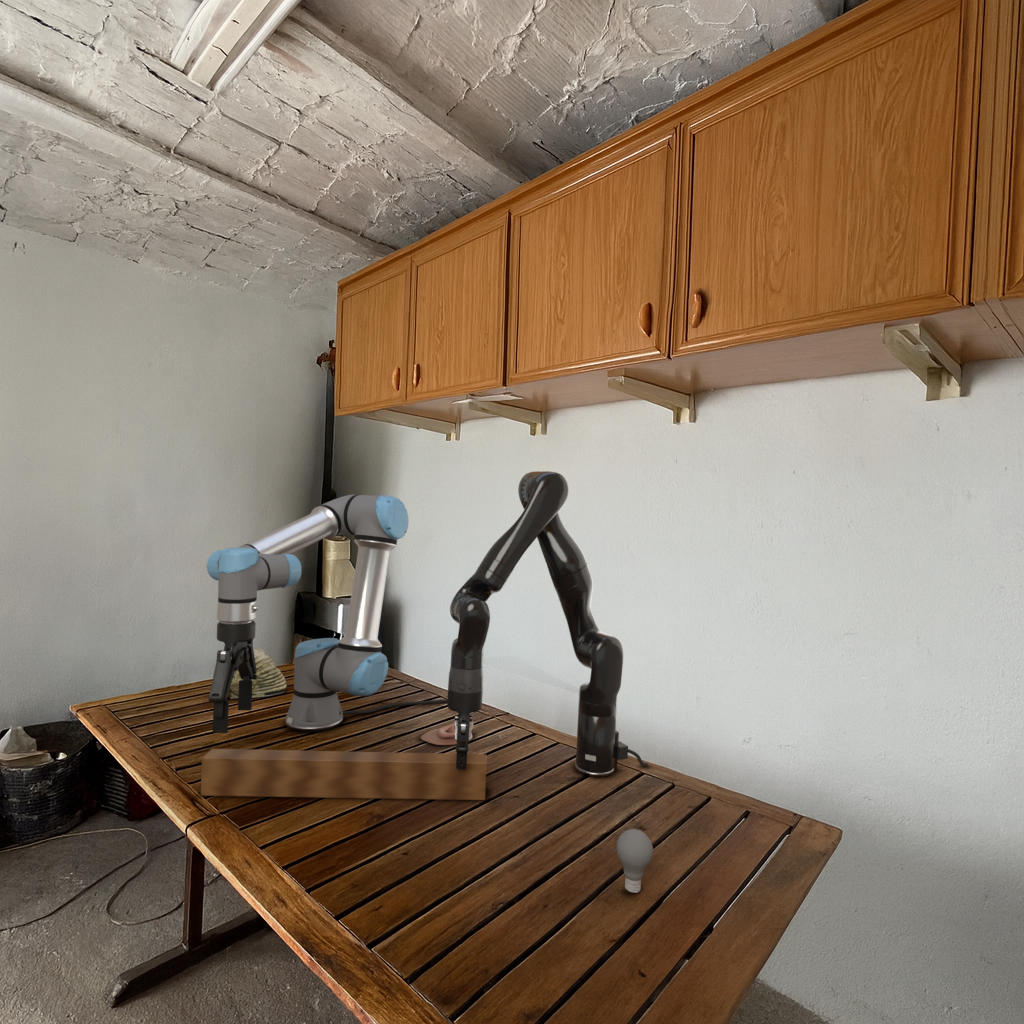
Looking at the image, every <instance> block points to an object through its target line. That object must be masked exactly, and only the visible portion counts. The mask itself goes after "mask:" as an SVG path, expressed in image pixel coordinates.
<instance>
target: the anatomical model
mask: <svg viewBox="0 0 1024 1024" xmlns="http://www.w3.org/2000/svg"><path fill="white" fill-rule="evenodd" d="M473 729H474V725H473V726H472V728H471V740H473V733H472V731H473ZM420 739H421V740H422V741H424V742H427V743H429V744H432V745H437V746H451V745H453V746H454V745H457V741H455V727H454V722H452V723H450V724H448V725H444V726H442V727H439V728H435V729H431V730H429V731H427V732H424V734H422V735H421V736H420Z"/></svg>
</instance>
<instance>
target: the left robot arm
mask: <svg viewBox="0 0 1024 1024" xmlns="http://www.w3.org/2000/svg"><path fill="white" fill-rule="evenodd" d="M409 521H410V520H409V513H408V510H407V508H406V506H405V504H404V502H403V501H402V500H401V499H400V498H398V497H395V496H391V495H384V494H347V495H344V496H340V497H337V498H334V499H332V500H330V501H327V502H324V503H322V504H320V505H318V506H316V507H314V508H313V509H312V510H311V512H310V514H307V515H305V516H303V517H301V518H298V519H297V520H295V521H292V522H290V523H288V524H286V525H284V526H282V527H279V528H277V529H275V530H273V531H271V532H269V533H266V534H265V535H262V536H259V537H257V538H255V539H254V540H251V541H249V542H247V543H245V544H242V545H240V546H238V547H226V548H224V549H217V550H215V551H213V552H212V553H211V554H210V556H209V557H208V559H207V562H206V570H207V574H208V576H209V577H210V578H212V579H213V580H215V581H218V583H217V584H218V585H217V586H218V589H217V591H218V594H217V610H216V611H217V612H216V619H217V621H219V622H218V623H217V624H216V640H217V641H218V642H221V643H224V647H223V650H221V649H219V650H217V652H216V660H215V661H216V662H215V666H214V671H213V676H212V681H211V685H210V691H209V693H208V694H209V695H208V698H207V700H208V702H213V709H212V710H213V711H212V734H227V733H228V732H229V710H230V709H229V708H230V700H229V699H228V696H229V694H230V692H229V690H230V686H231V683H232V680H233V676H234V673H235V671H236V670H238V672H239V674H240V677H241V679H243V680H240V681H239V695H238V698H237V711H252V707H253V706H252V705H253V697H252V683H253V681H252V680H256V679H257V675H254V674H256V673H257V670H256V664H255V657H254V651H253V649H254V639H255V638H256V627H257V626H256V625H257V624H256V622H255V619H256V618H257V617H256V616H257V615H256V614H257V611H258V610H259V606H258V605H257V599H258V597H257V596H258V591H264V590H271V589H272V590H273V589H280V588H282V589H284V588H287V587H291V586H294V585H295V584H297V583H298V582H299V581H300V579H301V576H302V563H301V561H300V560H299V558H298V557H297V556H295V554H296V553H298V552H300V551H302V550H304V549H306V548H308V547H310V546H311V545H312V546H313V544H315V543H317V542H320V541H321V540H323V539H324V540H331V539H334V538H336V537H339V536H354V538H353V541H354V543H355V544H356V546H357V547H358V548H357V555H356V563H355V568H354V574H353V575H354V576H353V577H354V578H353V581H352V582H353V583H352V589H351V596H350V600H349V601H350V603H349V609H348V615H347V621H346V628H345V635H344V636H342V638H340V639H338V638H335V637H322V638H313V639H308V640H304V641H302V642H299V643H298V644H297V645H296V647H295V652H294V653H295V654H294V657H293V659H294V660H293V662H294V663H293V665H294V666H293V695H292V696H293V697H292V699H291V702H290V704H289V708H288V711H287V713H286V715H285V726H286V728H287V729H289V730H291V731H294V732H295V731H296V732H301V733H316V732H325V731H329V730H332V729H335V728H337V727H339V726H340V725H342V723H343V722H344V715H366V714H372V713H375V712H378V711H381V710H384V709H389V708H390V709H391V708H396V707H404V706H416V705H429V704H441V703H447V699H448V698H443V699H433V700H432V699H431V700H417V701H416V700H415V701H406V702H396V703H395V702H394V703H390V704H385V705H382V706H378V707H375V708H371V709H367V710H366V709H365V710H343V709H342V706H341V702H340V699H339V695H338V692H341V693H345V694H349V695H352V696H355V697H356V696H359V697H360V696H361V697H370V696H372V695H374V694H375V693H376V692H377V691H379V690H380V688H381V687H382V686H383V684H384V682H385V681H386V679H387V676H388V671H389V662H388V658H387V656H386V655H385V654H384V653H382V648H383V644H382V643H381V642H380V640H379V638H378V637H379V631H380V623H381V616H382V609H383V603H384V597H385V596H384V595H385V589H386V583H387V575H388V569H389V562H390V554H391V551H393V550H394V549H395V548H397V544H398V540H400V539H402V538H403V537H404V536H405V535H406V533H407V531H408V529H409Z"/></svg>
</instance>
